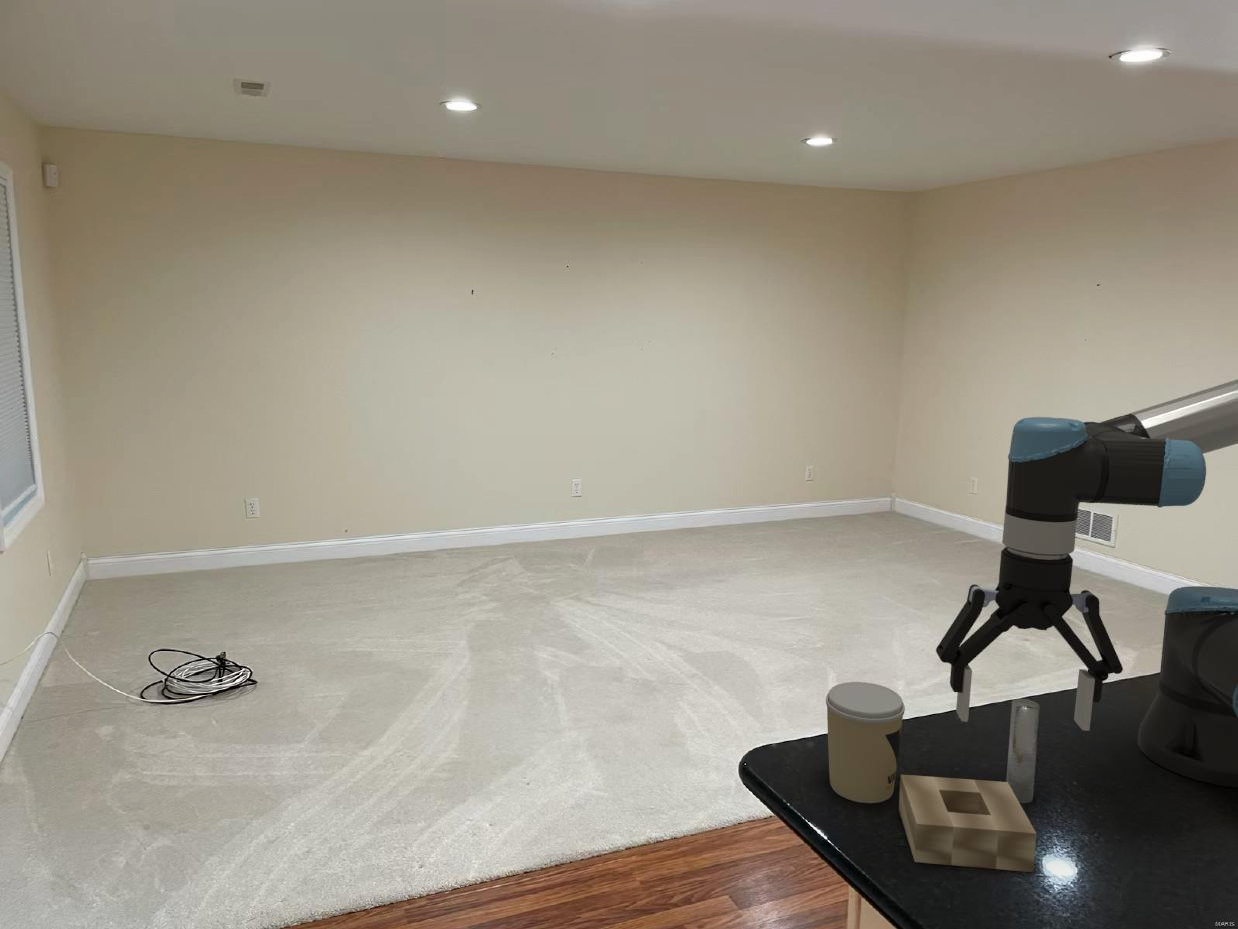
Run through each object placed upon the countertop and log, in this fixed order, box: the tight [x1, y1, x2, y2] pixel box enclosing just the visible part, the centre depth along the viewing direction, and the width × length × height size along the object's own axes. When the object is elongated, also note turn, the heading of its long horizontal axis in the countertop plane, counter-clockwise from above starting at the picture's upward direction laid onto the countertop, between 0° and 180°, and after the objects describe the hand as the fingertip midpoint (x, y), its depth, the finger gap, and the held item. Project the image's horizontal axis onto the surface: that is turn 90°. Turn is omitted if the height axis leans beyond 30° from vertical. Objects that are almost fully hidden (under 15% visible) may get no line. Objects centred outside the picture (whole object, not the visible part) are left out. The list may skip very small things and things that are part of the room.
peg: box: [1005, 698, 1041, 804], centre depth 101 cm, size 3×3×12 cm
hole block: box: [898, 774, 1037, 873], centre depth 93 cm, size 12×10×4 cm
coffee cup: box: [825, 681, 906, 804], centre depth 103 cm, size 9×9×12 cm
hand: (1021, 721), depth 100 cm, fingers open, 13 cm apart
